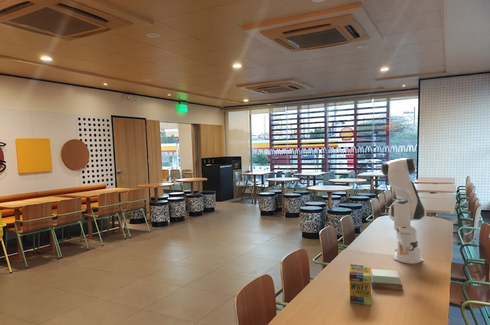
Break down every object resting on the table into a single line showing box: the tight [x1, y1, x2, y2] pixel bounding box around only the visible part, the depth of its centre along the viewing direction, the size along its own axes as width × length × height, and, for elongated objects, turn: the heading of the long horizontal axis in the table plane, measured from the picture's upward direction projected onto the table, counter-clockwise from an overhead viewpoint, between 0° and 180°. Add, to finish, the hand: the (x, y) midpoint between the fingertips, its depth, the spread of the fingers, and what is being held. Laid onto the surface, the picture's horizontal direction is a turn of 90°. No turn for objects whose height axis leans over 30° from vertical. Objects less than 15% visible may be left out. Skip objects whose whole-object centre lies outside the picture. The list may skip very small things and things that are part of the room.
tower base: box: [370, 274, 404, 292], centre depth 190 cm, size 12×16×4 cm
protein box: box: [348, 263, 372, 306], centre depth 175 cm, size 10×15×16 cm
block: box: [397, 241, 409, 255], centre depth 191 cm, size 5×5×6 cm
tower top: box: [370, 268, 400, 284], centre depth 189 cm, size 10×14×4 cm
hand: (403, 250), depth 191 cm, fingers closed on block, 5 cm apart
